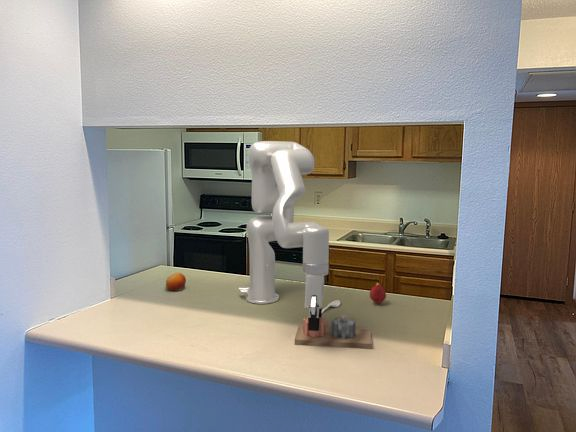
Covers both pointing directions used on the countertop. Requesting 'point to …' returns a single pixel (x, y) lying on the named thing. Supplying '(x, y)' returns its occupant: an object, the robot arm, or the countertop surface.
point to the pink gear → (315, 333)
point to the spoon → (332, 304)
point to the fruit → (176, 282)
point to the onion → (377, 294)
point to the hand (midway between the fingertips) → (315, 324)
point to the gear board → (333, 341)
